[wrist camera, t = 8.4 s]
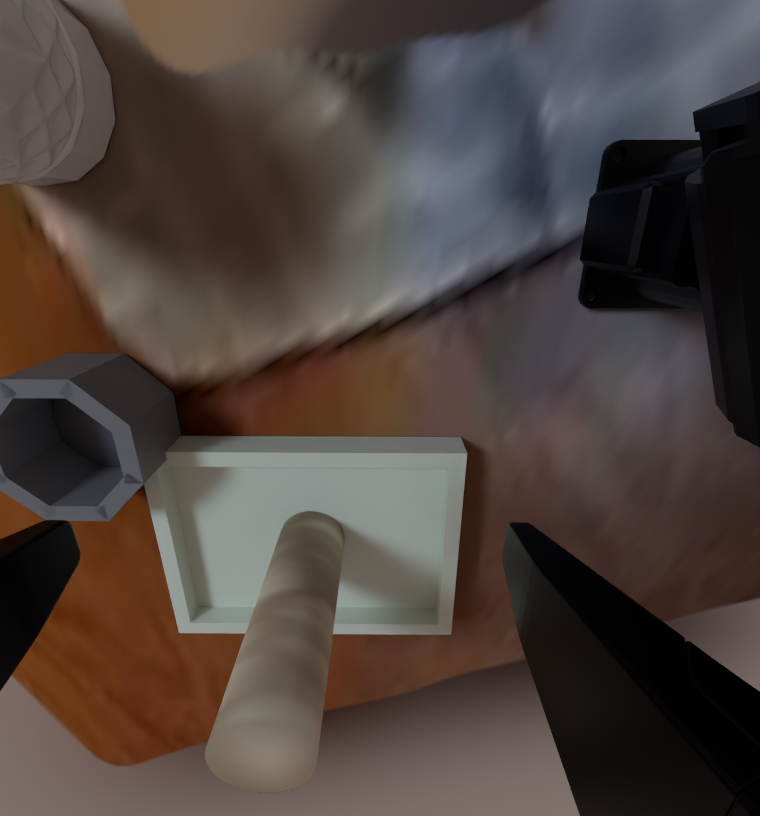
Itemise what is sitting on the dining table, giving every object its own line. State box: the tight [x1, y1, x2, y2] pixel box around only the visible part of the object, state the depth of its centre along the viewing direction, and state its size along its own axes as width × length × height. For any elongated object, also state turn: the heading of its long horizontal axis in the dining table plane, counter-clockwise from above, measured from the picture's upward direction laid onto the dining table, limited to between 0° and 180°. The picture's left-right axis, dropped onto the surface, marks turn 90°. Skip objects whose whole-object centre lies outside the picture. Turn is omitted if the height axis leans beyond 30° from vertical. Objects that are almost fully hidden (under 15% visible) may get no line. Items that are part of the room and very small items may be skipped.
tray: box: [144, 436, 467, 635], centre depth 24 cm, size 16×12×2 cm
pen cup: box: [0, 353, 181, 521], centre depth 20 cm, size 7×7×4 cm
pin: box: [205, 511, 345, 793], centre depth 19 cm, size 4×4×11 cm
